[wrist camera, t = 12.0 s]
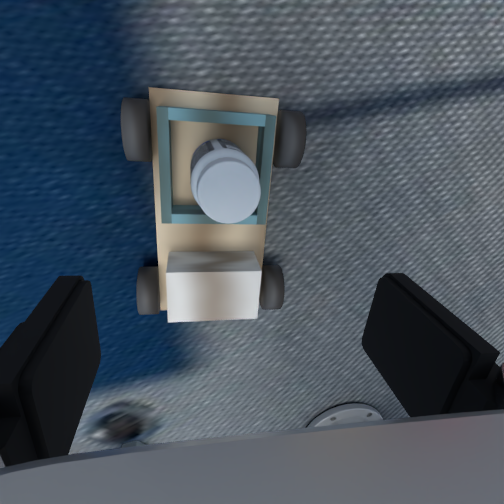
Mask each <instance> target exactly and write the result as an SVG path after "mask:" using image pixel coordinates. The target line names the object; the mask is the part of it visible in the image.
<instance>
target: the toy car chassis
mask: <svg viewBox="0 0 504 504" xmlns="http://www.w3.org/2000/svg"><path fill="white" fill-rule="evenodd" d="M149 101H150V102H149ZM278 104H279V99H278V98H266V97H255V96H243V95H232V94H220V93H209V92H197V91H186V90H174V89H163V88H151V87H149V100H148V99H138V98H126V97H124V98H123V100H122V105H121V131H122V141H123V147H124V152H125V155H126V158H127V160H128V161H145V162H151V161H152V157H153V175H154V194H155V213H156V231H157V250H158V267H140V268H139V271H138V277H137V308H138V312H139V314H140V315H143V314H159V310H160V306H161V310H168V322H190V321H213V320H235V319H257V314H258V304H259V301H260V305H261V308H262V309H263V310H271V309H281V307H282V305H283V301H284V278H283V273H282V270H281V267H280V266H279V265H262V264H263V254H264V244H265V234H266V224H267V214H268V204H269V194H270V184H271V174H272V164H274V166H275V167H277V168H297V167H298V166H299V164H300V162H301V160H302V157H303V154H304V149H305V143H306V121H305V117H304V114H303V113H302V112H300V111H288V110H280V111H279V112H278ZM212 139H224V140H228V141H230V142H232V143H234V144H235V145H236V146H238V147H239V148H240V149H241V150H242V151H243V153H245V154H246V155H247V156H248V157H249V158H250V159H251V160H252V162H253V163H254V165H255V166H256V169H257V171H258V175H259V182H260V187H261V196H260V200H259V204H258V206H257V208H256V209H255V211H254V212H253V213H252V214H251V215H250V216H249V217H247V218H246V219H244V220H242V221H240V222H237V223H231V224H226V223H220V222H217V221H215V220H213V219H211V218H210V217H209V216H207V215H206V214H205V213H204V211H203V210H202V208H201V207H200V206H199V205H198V203H197V202H196V200H195V199H194V196H193V194H192V191H191V184H190V180H191V178H190V164H191V159H192V156H193V154H194V152H195V151H196V149H197V148H198V147H199V146H200V145H201V144H203V143H204V142H206V141H209V140H212Z"/></svg>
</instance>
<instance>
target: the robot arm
mask: <svg viewBox="0 0 504 504" xmlns="http://www.w3.org/2000/svg"><path fill="white" fill-rule="evenodd" d="M362 346H363V349H364V351H365V352H366V353H367V355H368V356H369V358H370V359H371V361H372V362H373V364H374V365H375V367H376V368H377V369H378V371H379V372H380V374H381V375H382V377H383V378H384V380H385V381H386V383H387V384H388V385H389V387H390V388H391V390H392V391H393V393H394V394H395V396H396V397H397V399H398V400H399V401H400V403H401V404H402V406H403V407H404V409H405V410H406V412H407V413H408V415H409V416H410V417H409V418H399V419H388V420H383V418H382V417H381V415H380V413H379V412H378V411H377V410H376V409H375V408H373V407H371V406H369V405H365V404H358V403H352V404H345V405H341V406H337V407H334V408H332V409H329V410H328V411H326V412H324V413H322V414H321V415H319V416H318V417H316V418H315V419H314V420H313V421H312V422H311V423H310V424H309V425H308V427H307V428H299V429H289V430H279V431H270V432H260V433H251V434H242V435H232V436H223V437H214V438H204V439H195V440H186V441H177V442H167V443H158V444H150V445H142V446H134V447H126V448H117V449H109V450H101V451H93V452H85V453H77V454H71V455H68V453H69V450H70V447H71V444H72V442H73V439H74V436H75V433H76V430H77V427H78V424H79V422H80V419H81V416H82V413H83V410H84V407H85V404H86V401H87V399H88V396H89V393H90V390H91V387H92V384H93V381H94V378H95V376H96V373H97V370H98V367H99V364H100V358H101V351H100V344H99V337H98V330H97V323H96V316H95V309H94V302H93V295H92V288H91V283H90V281H84V278H83V277H82V276H59V277H58V278H57V280H56V281H55V282H54V284H53V285H52V286H51V288H50V289H49V290H48V292H47V293H46V294H45V295H44V297H43V298H42V299H41V301H40V302H39V303H38V305H37V306H36V307H35V309H34V310H33V311H32V313H31V314H30V315H29V317H28V318H27V319H26V321H25V322H23V323H20V324H19V325H18V326H17V327H16V328H15V330H14V331H13V332H12V334H11V335H10V336H9V337H8V339H7V340H6V341H5V343H4V344H3V345H2V347H1V348H0V504H504V363H502V365H501V367H499V366H498V365H497V364H496V363H495V361H496V359H497V357H498V356H499V354H500V352H499V351H498V350H497V349H495V348H494V347H493V346H492V345H490V344H489V343H488V342H487V341H486V340H484V339H483V338H482V337H481V336H479V335H478V334H477V333H476V332H475V331H473V330H472V329H471V328H470V327H469V326H467V325H466V324H465V323H464V322H462V321H461V320H460V319H459V318H458V317H456V316H455V315H454V314H453V313H451V312H450V311H449V310H448V309H447V308H445V307H444V306H443V305H442V304H440V303H439V302H438V301H437V300H436V299H434V298H433V297H432V296H431V295H430V294H428V293H427V292H426V291H425V290H423V289H422V288H421V287H420V286H419V285H417V284H416V283H415V282H414V281H412V280H411V279H410V278H409V277H408V276H406V275H405V274H403V273H386V274H385V275H384V276H383V277H382V278H380V279H379V281H378V284H377V287H376V291H375V294H374V298H373V302H372V305H371V309H370V312H369V316H368V319H367V323H366V326H365V330H364V333H363V337H362Z"/></svg>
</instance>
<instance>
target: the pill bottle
mask: <svg viewBox="0 0 504 504" xmlns="http://www.w3.org/2000/svg"><path fill="white" fill-rule="evenodd" d="M190 178H191V180H190V184H191V191H192V194H193V196H194V199H195V200H196V202H197V203H198V205H199V206H200V207H201V208H202V210H203V211H204V213H205V214H206V215H207V216H209V217H210V218H211V219H213V220H215V221H217V222H220V223H226V224H231V223H237V222H240V221H242V220H244V219H246V218H247V217H249V216H250V215H251V214H252V213H253V212H254V211H255V209H256V208H257V206H258V204H259V200H260V196H261V187H260V182H259V175H258V171H257V169H256V166H255V165H254V163H253V162H252V160H251V159H250V158H249V157H248V156H247V155H246V154H245V153H243V151H242V150H241V149H240V148H239V147H238V146H236V145H235V144H234V143H232V142H230V141H228V140H224V139H212V140H209V141H206V142H204V143H203V144H201V145H200V146H199V147H198V148H197V149H196V151H195V152H194V154H193V156H192V159H191V164H190Z"/></svg>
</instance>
